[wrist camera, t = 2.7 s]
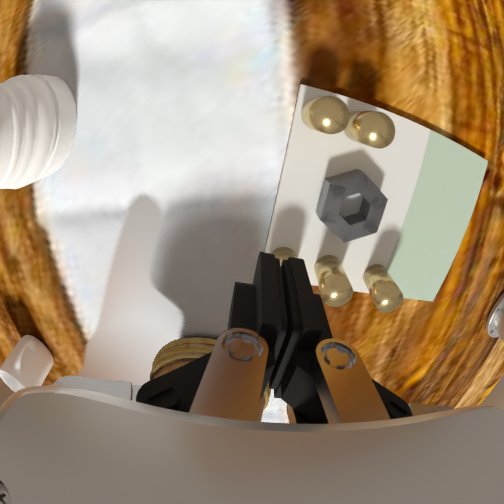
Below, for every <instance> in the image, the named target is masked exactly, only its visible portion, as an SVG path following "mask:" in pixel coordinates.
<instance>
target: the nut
mask: <svg viewBox="0 0 504 504" xmlns="http://www.w3.org/2000/svg"><path fill="white" fill-rule="evenodd" d="M358 193H359V194H360V195H361V196H362V197H363V200H362V203H361V206H360V210H359V213H356V214H352V215H349V216H346V217H343V216H342V215H341V214H340V213H339V212H340V209H341V205H342V202H343V199H344V198H345V197H348V196H351V195H355V194H358ZM387 201H388V199H387V198H386V197H385V195H384V194H383V193H382V192H381V191H380V190H379V188H378V187H377V186H376V185H375V184H374V183H373V182H372V180H371V179H370V178H369V177H368V176H367V175H366V174H365V173H364V172H362V171H360V170H359V169H356V170H352V171H348V172H345V173H341V174H338V175H335V176H331V177H328V178H324V182H323V186H322V190H321V194H320V198H319V201H318V205H317V209H316V214H317V216H318V218H319V219H320V221H322V222H323V223H324V224H325V225H326V226H327V227H328V228H329V229H330V230H331V231H332V232H333V233H334V234H335V235H337V236H338V237H339V238H340V239H341V240H342V241H343V242H344V243H346V242H349V241H352V240H355V239H358V238H361V237H365V236H368V235H371V234H374V233H377V231H378V228H379V225H380V222H381V219H382V216H383V213H384V210H385V207H386V204H387Z"/></svg>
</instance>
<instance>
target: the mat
mask: <svg viewBox="0 0 504 504" xmlns="http://www.w3.org/2000/svg"><path fill="white" fill-rule="evenodd" d="M323 96H335V97H338V98H339V99H341V100H342V101H343V102H344V103H345V104H346V105H347V107H348V109H349V113H351V112H353V111H380V112H383V113H385V114H387V115H388V116H389V117H390V118H391V119H392V121H393V123H394V126H395V137H394V139H393V141H392V143H391V144H390V145H389V146H387V147H385V148H381V149H378V148H374V147H371V146H368V145H365V144H362V143H358V142H355V141H353V140H351V139H349V138H348V137H347V136H346V134H345V132H344V130H343V131H341V132H340V133H337V134H326V133H323V132H319V131H315V130H312V129H310V128H308V127H307V126H306V125H305V124H304V122H303V121H302V118H301V110H302V108H303V106H304V105H305V103H307V102H308V101H310V100H313V99H316V98H319V97H323ZM487 163H488V161H487V160H485V159H484V158H482V157H480V156H479V155H477V154H475V153H474V152H472V151H470V150H468V149H467V148H465V147H463V146H461V145H460V144H458V143H456V142H454V141H452V140H450V139H448V138H446V137H444V136H443V135H441V134H439V133H437V132H434V131H432V130H430V129H428V128H426V127H424V126H422V125H420V124H417V123H415V122H413V121H411V120H408V119H406V118H404V117H401V116H399V115H396V114H394V113H391V112H389V111H386V110H384V109H381V108H378V107H375V106H373V105H370V104H367V103H364V102H361V101H358V100H355V99H352V98H349V97H346V96H343V95H339V94H336V93H332V92H329V91H325V90H322V89H318V88H314V87H310V86H306V85H302V84H301V85H300V87H299V92H298V97H297V102H296V107H295V112H294V116H293V121H292V126H291V131H290V136H289V140H288V145H287V150H286V155H285V159H284V164H283V169H282V173H281V178H280V183H279V187H278V192H277V197H276V201H275V206H274V210H273V215H272V219H271V224H270V228H269V233H268V238H267V242H266V246H265V251H264V253H270V254H271V252H272V251H273V250H274V249H276V248H279V247H288V248H291V249H292V250H293V251H294V252H295V253H296V255H297V258H300V259H304V262H305V266H306V269H307V273H308V276H309V280H310V283H311V285H316V286H319V285H318V281H317V278H316V275H315V271H314V266H315V263H316V261H317V260H318V259H319V258H321V257H322V256H325V255H333V256H335V257H337V258H338V259H339V260H340V262H341V264H342V267H343V269H344V271H345V273H346V275H347V277H348V279H349V281H350V284H351V286H352V288H353V291H357V292H364V293H370V292H369V291H368V289H367V287H366V285H365V283H364V281H363V274H364V272H365V270H366V269H367V268H368V267H369V266H371V265H373V264H381V265H383V266H384V267H385V268H386V270H387V271H388V273H389V274H390V275H391V277H392V278H393V280H394V281H395V283H396V284H397V286H398V287H399V289H400V290H401V292H402V294H403V298H409V299H417V300H425V301H433V300H434V298H435V296H436V294H437V293H438V291H439V289H440V287H441V285H442V283H443V281H444V279H445V277H446V275H447V273H448V271H449V269H450V266H451V264H452V262H453V260H454V258H455V255H456V253H457V251H458V249H459V246H460V244H461V241H462V239H463V237H464V234H465V231H466V229H467V226H468V224H469V221H470V218H471V216H472V213H473V210H474V207H475V204H476V201H477V198H478V195H479V192H480V188H481V185H482V182H483V178H484V174H485V171H486V167H487ZM356 169H359V170H360V171H362V172H364V173H365V174H366V175H367V176H368V177H369V178H370V179H371V180H372V182H373V183H374V184H375V185H376V186H377V187H378V188H379V190H380V191H381V192H382V193H383V194H384V195H385V197H386V198H387V199H388V201H387V204H386V207H385V210H384V213H383V216H382V219H381V222H380V225H379V228H378V231H377V233H374V234H371V235H368V236H365V237H361V238H358V239H355V240H352V241H349V242H346V243H344V242H343V241H342V240H341V239H340V238H339V237H338V236H337V235H335V234H334V233H333V232H332V231H331V230H330V229H329V228H328V227H327V226H326V225H325V224H324V223H323V222H322V221H320V219H319V218H318V216H317V214H316V209H317V205H318V201H319V198H320V194H321V190H322V186H323V182H324V178H328V177H331V176H335V175H338V174H341V173H345V172H348V171H352V170H356ZM362 200H363V197H362V196H361V195H360V194H359V193H358V194H355V195H351V196H348V197H345V198H344V199H343V202H342V205H341V209H340V212H339V213H340V214H341V215H342V216H343V217H346V216H349V215H352V214H356V213H359V210H360V206H361V203H362Z"/></svg>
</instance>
